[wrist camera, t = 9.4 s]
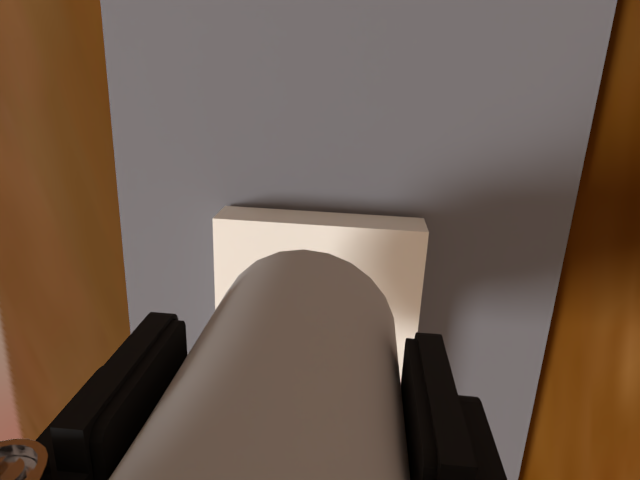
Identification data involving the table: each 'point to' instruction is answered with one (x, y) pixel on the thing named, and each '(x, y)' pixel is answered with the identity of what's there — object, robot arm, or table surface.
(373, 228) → the tile
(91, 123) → the table surface
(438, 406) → the robot arm
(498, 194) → the mat
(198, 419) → the beverage can
